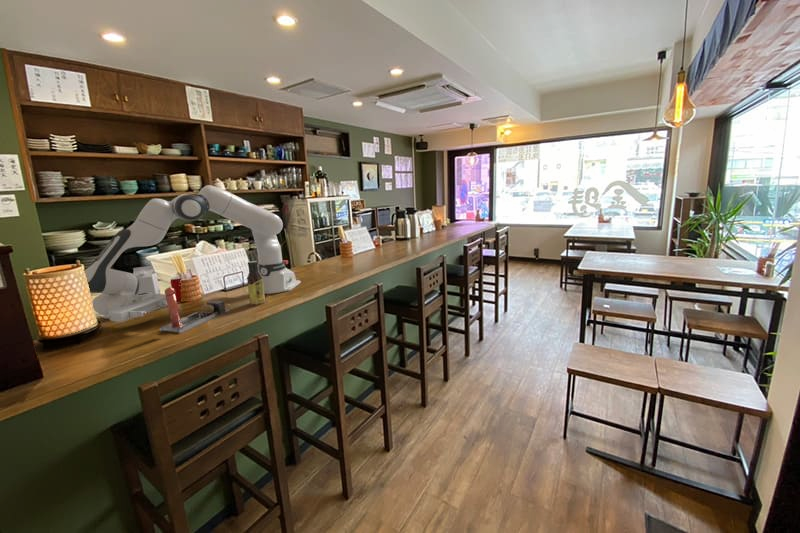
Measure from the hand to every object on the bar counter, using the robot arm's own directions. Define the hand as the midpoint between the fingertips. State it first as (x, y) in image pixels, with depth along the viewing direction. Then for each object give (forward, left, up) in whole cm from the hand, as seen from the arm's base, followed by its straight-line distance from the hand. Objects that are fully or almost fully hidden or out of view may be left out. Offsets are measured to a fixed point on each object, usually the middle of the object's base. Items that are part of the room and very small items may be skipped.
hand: (156, 309), depth 130 cm
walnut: (-14, +9, -7) cm, 18 cm away
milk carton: (-18, -28, -9) cm, 35 cm away
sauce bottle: (-30, +20, -9) cm, 37 cm away
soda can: (-28, -22, -9) cm, 37 cm away
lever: (0, +9, -7) cm, 11 cm away
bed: (-9, +9, -8) cm, 15 cm away
